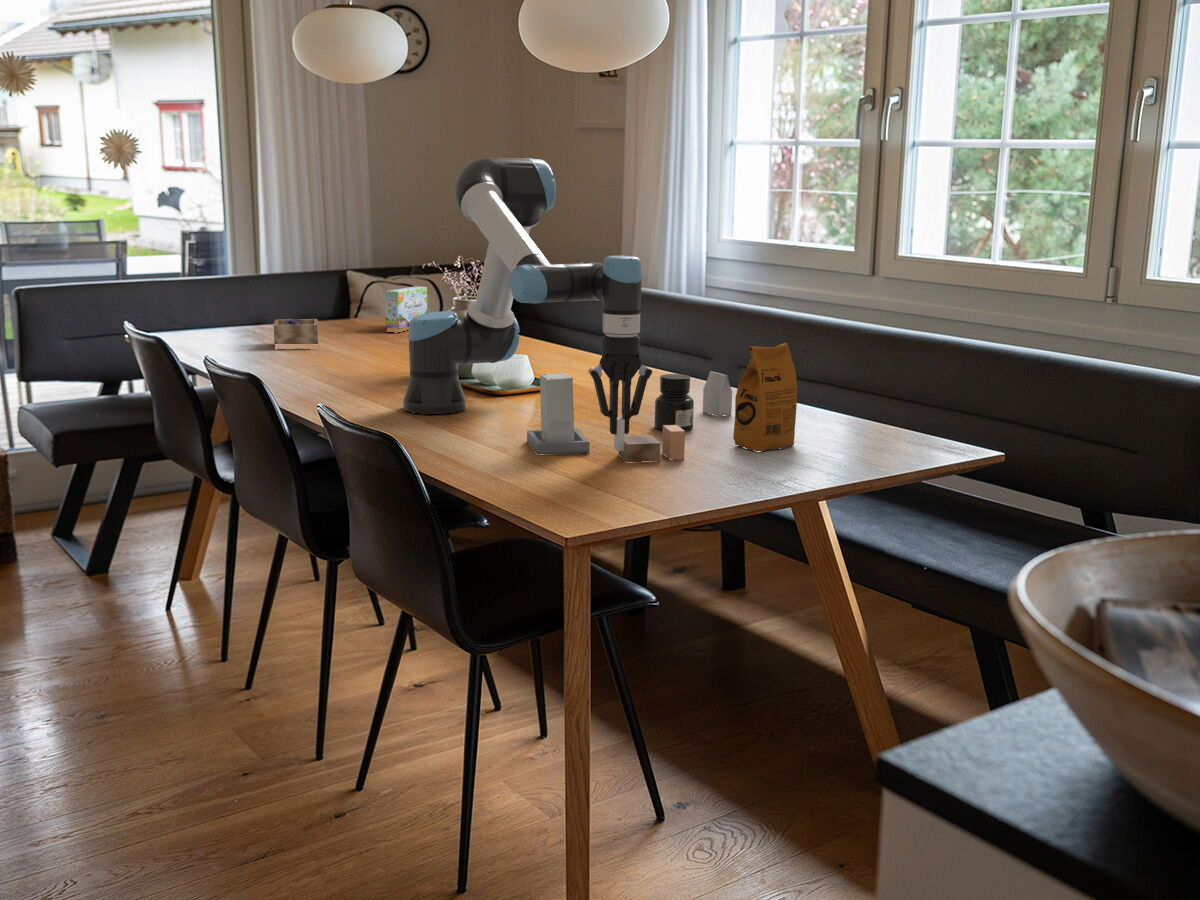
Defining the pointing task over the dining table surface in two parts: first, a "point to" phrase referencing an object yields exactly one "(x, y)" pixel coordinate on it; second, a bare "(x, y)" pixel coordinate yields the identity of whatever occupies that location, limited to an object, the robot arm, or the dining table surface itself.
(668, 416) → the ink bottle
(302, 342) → the planter box
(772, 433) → the coffee package
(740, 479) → the dining table surface
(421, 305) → the snack box
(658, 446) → the walnut block
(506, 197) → the robot arm
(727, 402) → the tea bag
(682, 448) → the block
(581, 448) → the tray
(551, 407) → the skincare box
